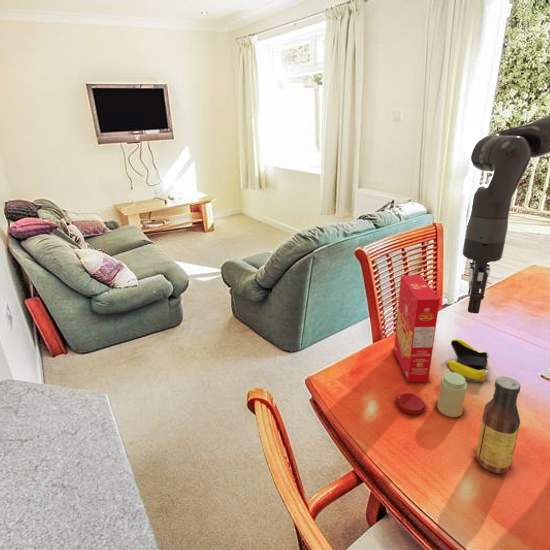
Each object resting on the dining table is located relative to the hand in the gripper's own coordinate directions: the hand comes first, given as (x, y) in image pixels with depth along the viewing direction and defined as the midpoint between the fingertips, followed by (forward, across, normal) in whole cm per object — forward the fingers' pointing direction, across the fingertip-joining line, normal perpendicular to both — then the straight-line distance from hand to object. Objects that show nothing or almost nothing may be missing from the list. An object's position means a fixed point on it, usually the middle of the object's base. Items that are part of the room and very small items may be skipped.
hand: (473, 303), depth 85 cm
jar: (+26, +6, -1) cm, 27 cm away
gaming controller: (+26, -12, +2) cm, 29 cm away
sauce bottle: (+26, +19, +7) cm, 33 cm away
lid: (+25, +9, -10) cm, 28 cm away
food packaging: (+26, -8, -12) cm, 30 cm away
